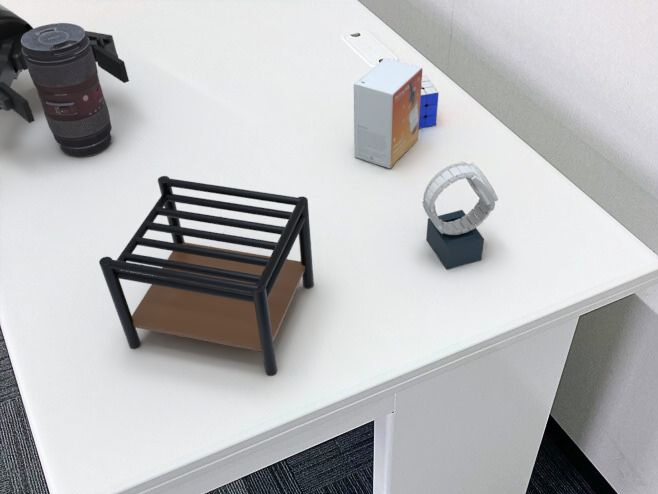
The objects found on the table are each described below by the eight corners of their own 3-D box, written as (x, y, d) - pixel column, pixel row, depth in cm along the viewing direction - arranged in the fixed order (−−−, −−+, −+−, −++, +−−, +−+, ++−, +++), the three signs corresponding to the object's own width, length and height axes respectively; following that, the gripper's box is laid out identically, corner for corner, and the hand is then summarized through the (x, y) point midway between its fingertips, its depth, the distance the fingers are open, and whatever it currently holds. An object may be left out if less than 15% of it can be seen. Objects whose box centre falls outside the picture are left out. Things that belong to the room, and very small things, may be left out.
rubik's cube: (390, 112, 105) (391, 80, 101) (424, 107, 106) (426, 74, 102) (401, 131, 102) (403, 98, 98) (436, 125, 102) (438, 92, 99)
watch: (496, 255, 84) (510, 175, 76) (431, 273, 83) (439, 192, 74) (474, 226, 88) (485, 146, 80) (412, 242, 86) (416, 162, 78)
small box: (390, 170, 96) (392, 95, 88) (353, 157, 98) (352, 83, 90) (419, 140, 100) (424, 66, 92) (383, 128, 102) (385, 55, 94)
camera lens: (129, 142, 101) (99, 35, 90) (76, 167, 97) (38, 58, 86) (97, 120, 105) (65, 14, 93) (45, 143, 101) (5, 35, 90)
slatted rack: (127, 347, 76) (96, 263, 67) (181, 259, 85) (160, 174, 76) (275, 376, 73) (262, 292, 64) (315, 281, 82) (309, 196, 73)
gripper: (86, 33, 112) (166, 83, 102) (-75, 94, 101) (-4, 157, 91) (71, -18, 107) (154, 29, 96) (-101, 40, 95) (-28, 101, 85)
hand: (78, 91), depth 94 cm, fingers open, 13 cm apart
